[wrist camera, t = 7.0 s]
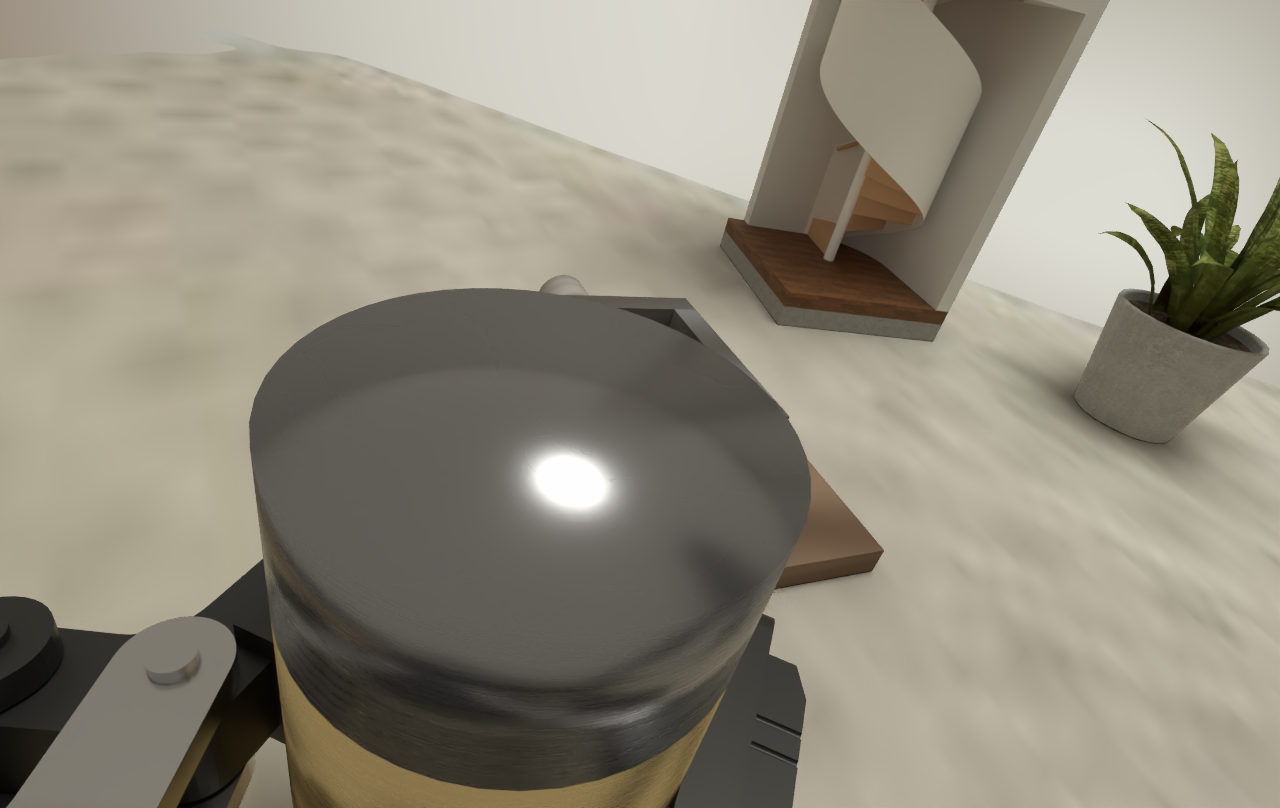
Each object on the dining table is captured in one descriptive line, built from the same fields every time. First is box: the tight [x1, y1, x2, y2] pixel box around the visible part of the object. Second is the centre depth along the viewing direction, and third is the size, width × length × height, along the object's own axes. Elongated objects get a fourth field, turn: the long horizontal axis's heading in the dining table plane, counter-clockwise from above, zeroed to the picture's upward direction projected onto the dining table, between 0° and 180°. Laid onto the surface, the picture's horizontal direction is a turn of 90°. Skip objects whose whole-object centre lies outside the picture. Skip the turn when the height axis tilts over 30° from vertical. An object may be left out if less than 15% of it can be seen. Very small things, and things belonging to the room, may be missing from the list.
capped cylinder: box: [249, 288, 811, 808], centre depth 10 cm, size 5×5×12 cm
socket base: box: [539, 275, 884, 588], centre depth 25 cm, size 16×14×4 cm
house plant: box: [1074, 121, 1280, 443], centre depth 34 cm, size 14×14×16 cm
